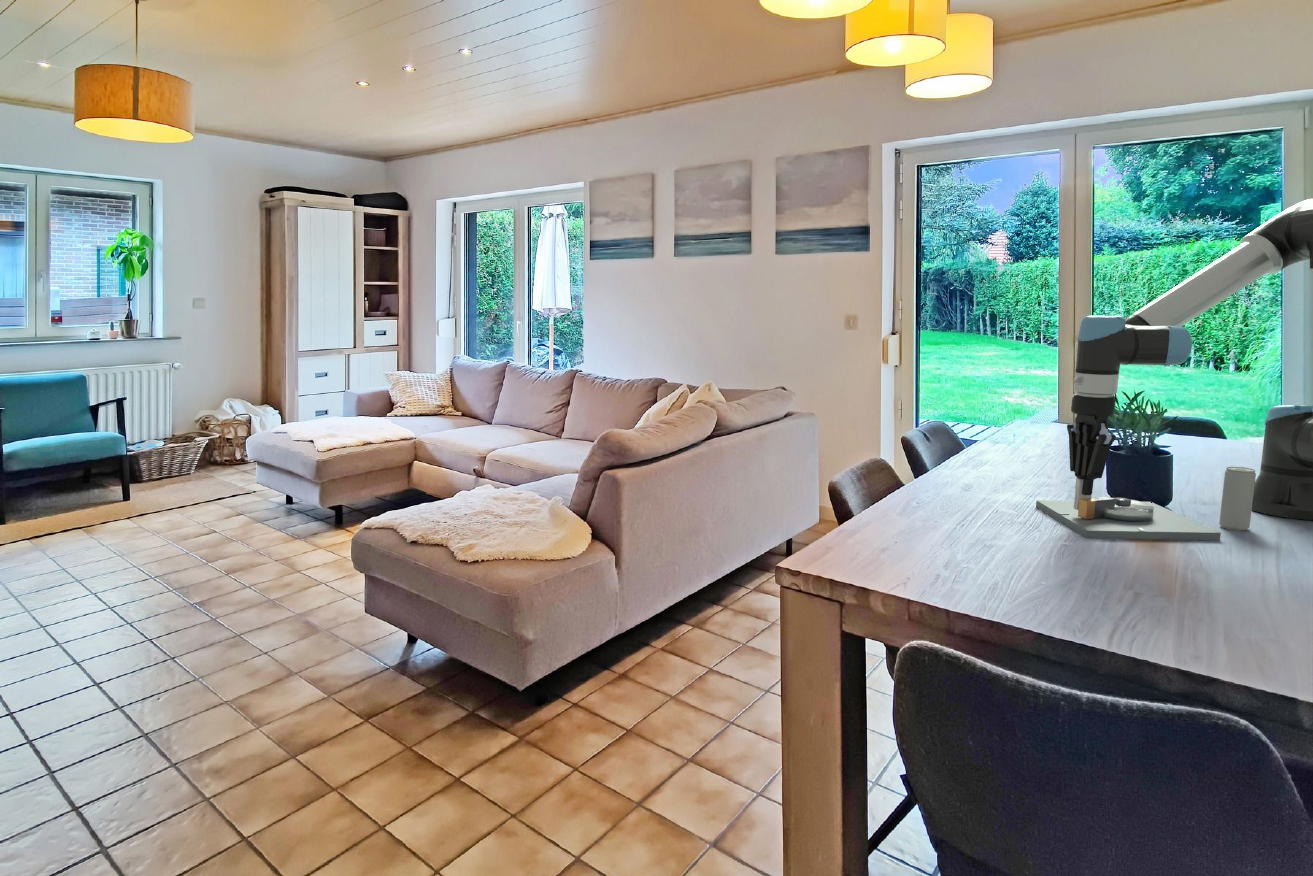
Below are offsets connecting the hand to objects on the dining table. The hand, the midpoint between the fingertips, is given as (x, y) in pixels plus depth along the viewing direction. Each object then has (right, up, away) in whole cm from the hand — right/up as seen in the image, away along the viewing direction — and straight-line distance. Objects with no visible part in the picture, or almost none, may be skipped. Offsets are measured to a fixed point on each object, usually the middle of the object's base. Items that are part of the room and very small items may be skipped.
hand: (1081, 509), depth 154 cm
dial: (+6, -1, 0) cm, 6 cm away
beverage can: (+28, -4, -4) cm, 29 cm away
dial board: (+8, -3, +1) cm, 9 cm away
